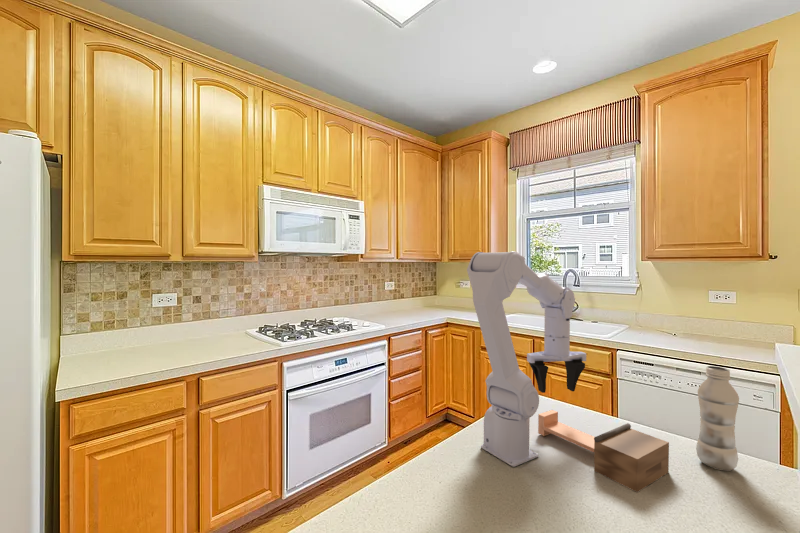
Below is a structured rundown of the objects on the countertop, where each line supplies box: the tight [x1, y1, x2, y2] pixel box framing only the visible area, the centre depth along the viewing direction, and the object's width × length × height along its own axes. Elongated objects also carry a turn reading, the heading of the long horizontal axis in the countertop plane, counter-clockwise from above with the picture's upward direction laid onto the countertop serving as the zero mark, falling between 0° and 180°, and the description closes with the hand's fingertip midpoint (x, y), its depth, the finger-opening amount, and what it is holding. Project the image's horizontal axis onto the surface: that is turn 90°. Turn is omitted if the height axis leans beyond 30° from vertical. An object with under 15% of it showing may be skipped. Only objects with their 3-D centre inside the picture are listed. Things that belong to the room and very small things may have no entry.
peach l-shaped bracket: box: [537, 409, 595, 453], centre depth 84 cm, size 14×5×5 cm, turn 32°
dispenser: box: [593, 422, 670, 493], centre depth 73 cm, size 8×12×7 cm
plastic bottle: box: [695, 365, 740, 472], centre depth 75 cm, size 6×7×20 cm
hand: (556, 390), depth 91 cm, fingers open, 7 cm apart
